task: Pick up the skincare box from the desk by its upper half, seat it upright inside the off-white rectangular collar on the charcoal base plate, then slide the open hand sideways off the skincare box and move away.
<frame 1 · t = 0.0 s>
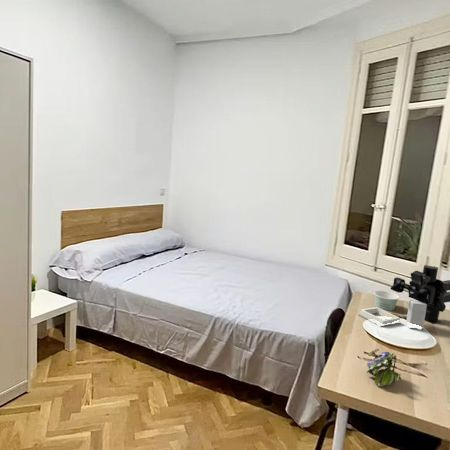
hand: (399, 291, 159), 17 cm above the table, tool horizontal, fingers open, 9 cm apart
bottle stand: (379, 319, 169), on the table
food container: (384, 307, 186), on the table
skincare box: (413, 327, 163), on the table
passion flower: (382, 379, 121), on the table
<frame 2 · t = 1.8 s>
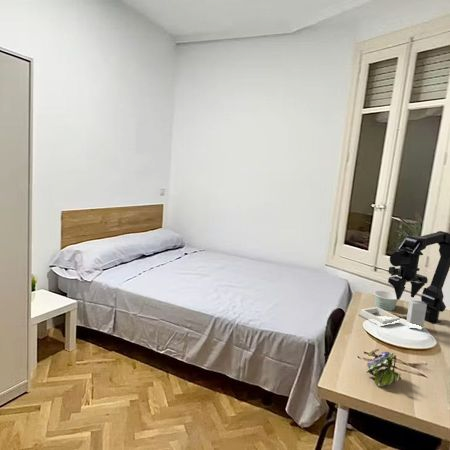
hand: (405, 298, 162), 13 cm above the table, tool pointing down, fingers open, 9 cm apart
nothing on the table moved.
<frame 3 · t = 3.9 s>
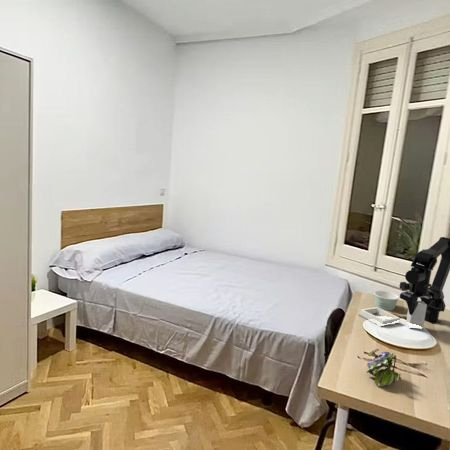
hand: (416, 313, 162), 7 cm above the table, tool pointing down, fingers closed on skincare box, 7 cm apart
skincare box: (413, 327, 163), on the table, touching gripper
everything else where it was.
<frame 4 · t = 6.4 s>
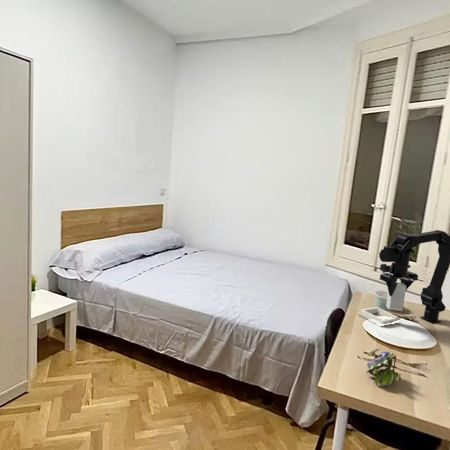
hand: (396, 295, 165), 13 cm above the table, tool pointing down, fingers closed on skincare box, 7 cm apart
skincare box: (393, 309, 166), point 6 cm above the table, touching gripper
everything else where it was.
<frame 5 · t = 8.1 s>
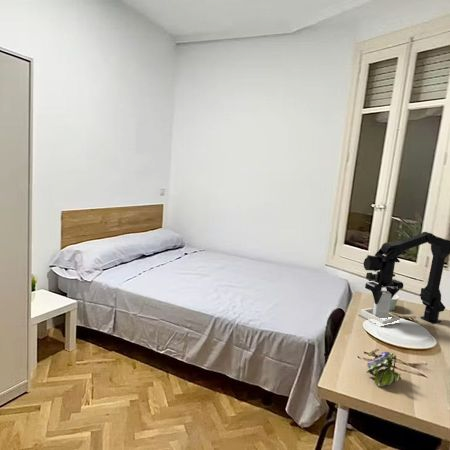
hand: (381, 303, 168), 8 cm above the table, tool pointing down, fingers closed on skincare box, 7 cm apart
skincare box: (379, 316, 169), point 1 cm above the table, touching gripper
everything else where it was.
when the fingers open (7 cm above the table, at t = 9.2 s): skincare box stays where it is, resting on bottle stand.
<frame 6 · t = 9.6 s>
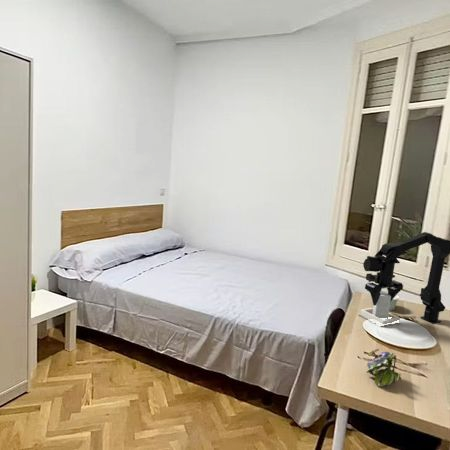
hand: (381, 304, 168), 7 cm above the table, tool pointing down, fingers open, 9 cm apart
skincare box: (379, 319, 169), resting on bottle stand
everything else where it was.
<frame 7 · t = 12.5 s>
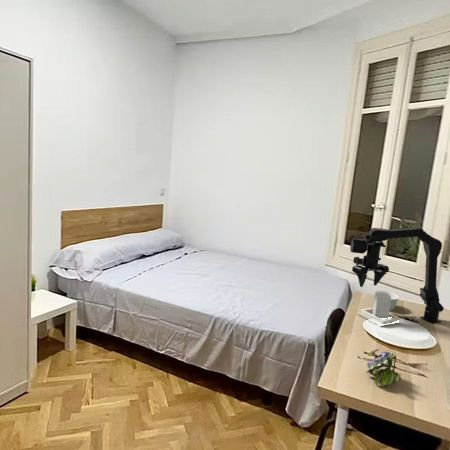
hand: (368, 286, 175), 13 cm above the table, tool pointing down, fingers open, 9 cm apart
nothing on the table moved.
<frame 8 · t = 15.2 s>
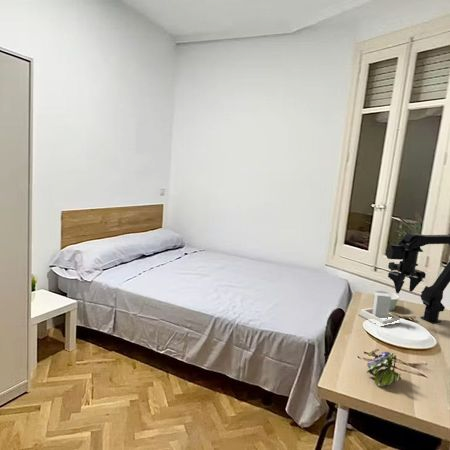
hand: (404, 292, 170), 13 cm above the table, tool pointing down, fingers open, 9 cm apart
nothing on the table moved.
at the end: skincare box 0.1 cm off-centre on the bottle stand, point 0.0 cm above the bottle stand's base; skincare box tilted 0°; the gripper is holding nothing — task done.
